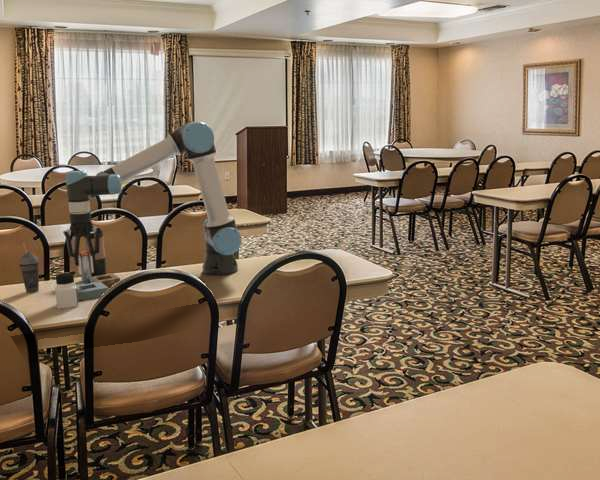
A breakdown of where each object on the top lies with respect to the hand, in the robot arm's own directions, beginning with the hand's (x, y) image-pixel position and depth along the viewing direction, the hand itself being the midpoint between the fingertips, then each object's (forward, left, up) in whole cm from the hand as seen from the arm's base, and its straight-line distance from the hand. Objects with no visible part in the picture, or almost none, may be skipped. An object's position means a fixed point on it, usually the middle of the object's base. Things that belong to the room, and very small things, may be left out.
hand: (86, 272), depth 240 cm
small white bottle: (0, 0, -4) cm, 4 cm away
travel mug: (-10, -24, -9) cm, 27 cm away
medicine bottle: (+10, +10, -9) cm, 17 cm away
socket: (0, 0, -9) cm, 9 cm away
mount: (-9, -10, -9) cm, 16 cm away
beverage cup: (+17, -19, -9) cm, 27 cm away
